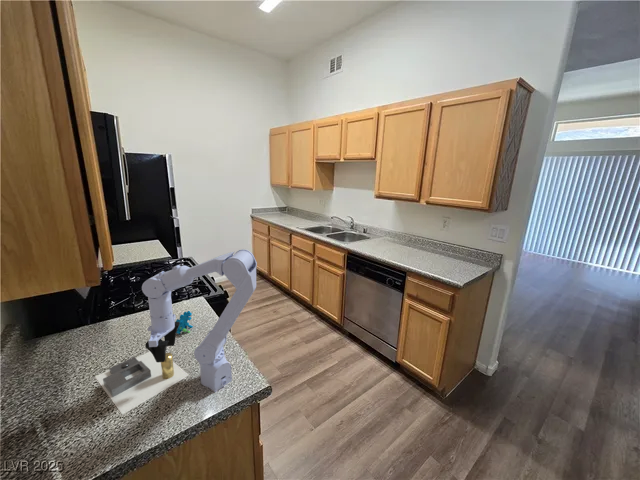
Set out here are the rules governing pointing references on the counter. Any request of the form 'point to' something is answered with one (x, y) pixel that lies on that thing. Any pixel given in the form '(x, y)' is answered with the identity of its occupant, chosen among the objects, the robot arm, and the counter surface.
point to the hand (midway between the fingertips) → (165, 353)
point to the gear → (184, 322)
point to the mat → (143, 384)
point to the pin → (167, 367)
